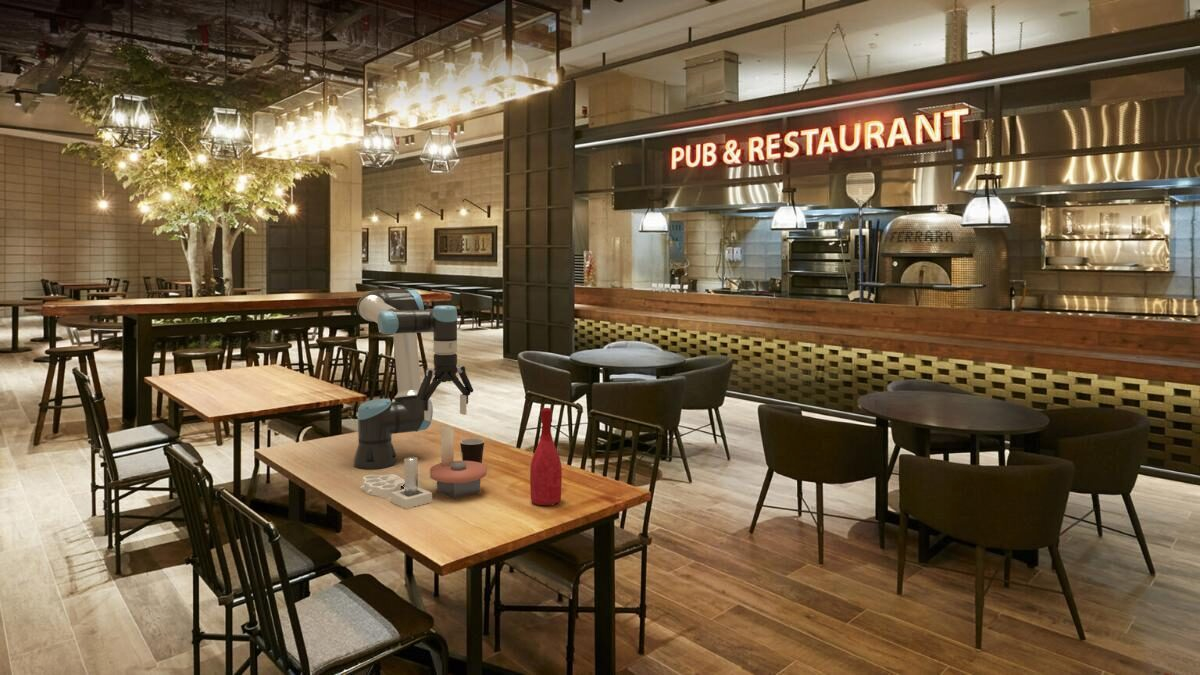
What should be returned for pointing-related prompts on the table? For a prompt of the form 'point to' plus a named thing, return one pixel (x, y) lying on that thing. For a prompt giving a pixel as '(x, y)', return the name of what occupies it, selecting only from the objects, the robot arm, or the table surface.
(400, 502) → the eye block
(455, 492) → the valve housing
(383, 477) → the knuckle duster
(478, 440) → the coffee mug
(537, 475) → the wine bottle
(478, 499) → the table surface
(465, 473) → the handwheel
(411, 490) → the steel pin
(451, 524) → the table surface
